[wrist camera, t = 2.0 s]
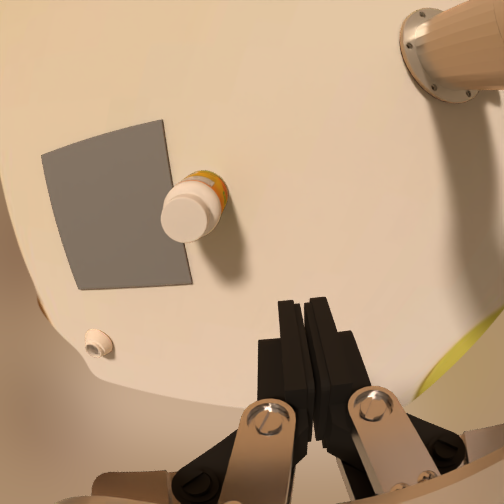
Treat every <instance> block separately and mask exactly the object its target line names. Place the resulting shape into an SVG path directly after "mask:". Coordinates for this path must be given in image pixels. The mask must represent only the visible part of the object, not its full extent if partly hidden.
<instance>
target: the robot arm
mask: <svg viewBox="0 0 504 504" xmlns="http://www.w3.org/2000/svg"><path fill="white" fill-rule="evenodd" d="M400 47H401V52H402V55H403V59H404V61H405V63H406V65H407V68H408V69H409V71H410V72H411V74H412V76H413V77H414V78H415V80H416V81H417V82H418V83H419V85H420V86H421V87H422V88H423V89H424V90H426V91H427V92H428V93H429V94H431V95H432V96H434V97H435V98H437V99H439V100H441V101H445V102H449V103H464V102H466V101H469V100H471V99H472V98H473V97H475V95H476V94H477V93H478V92H479V90H504V0H469V1H466V2H464V3H462V4H459V5H457V6H455V7H453V8H450V9H448V10H446V11H441V10H439V9H434V8H422V9H419V10H416V11H414V12H413V13H411V14H410V15H409V16H408V17H406V19H405V20H404V22H403V24H402V27H401V30H400ZM407 47H408V48H407ZM278 311H279V324H280V338H276V339H263V340H258V391H257V401H256V402H254V403H252V404H251V405H249V406H248V407H247V408H246V409H245V410H244V412H243V414H242V416H241V419H240V423H239V427H238V429H237V430H236V431H234V432H233V433H232V434H230V435H229V436H228V437H226V438H225V439H224V440H222V441H221V442H219V443H218V444H217V445H215V446H214V447H213V448H211V449H209V450H208V451H207V452H205V453H204V454H202V455H201V456H199V457H198V458H196V459H195V460H193V461H192V462H190V463H189V464H187V465H186V466H184V467H183V468H181V469H180V470H179V471H178V472H167V471H166V470H162V471H143V472H108V473H103V474H101V475H99V476H98V477H97V478H96V479H95V481H94V482H93V485H92V494H91V496H80V497H72V498H67V499H63V500H61V501H58V502H56V503H55V504H291V500H292V492H293V484H294V477H295V469H296V464H297V463H298V462H299V461H300V460H302V458H304V457H305V455H307V444H308V442H311V438H312V426H313V423H314V430H315V438H316V441H319V440H322V445H323V448H327V452H329V453H330V454H332V455H334V456H335V457H336V460H337V464H338V467H339V469H340V472H341V475H342V478H343V481H344V483H345V486H346V489H347V492H348V494H349V497H350V500H351V501H350V502H344V503H338V504H504V424H500V425H495V426H491V427H486V428H481V429H476V430H470V431H464V432H463V434H462V435H457V434H455V433H454V432H451V431H449V430H446V429H443V428H441V427H438V426H436V425H434V424H431V423H429V422H426V421H424V420H422V419H419V418H417V417H415V416H412V415H410V414H408V413H406V412H405V411H404V409H403V407H402V406H401V404H400V402H399V401H398V399H397V397H396V396H395V395H394V394H393V393H392V392H391V391H389V390H388V389H386V388H383V387H380V386H371V383H370V380H369V377H368V374H367V371H366V369H365V366H364V363H363V360H362V357H361V355H360V352H359V349H358V347H357V344H356V341H355V338H354V336H353V333H352V332H351V331H350V330H349V331H342V332H337V329H336V326H335V323H334V320H333V317H332V314H331V311H330V308H329V305H328V302H327V299H326V297H317V298H310V302H309V303H304V323H303V318H302V313H301V307H300V303H299V304H294V301H293V300H286V301H278Z"/></svg>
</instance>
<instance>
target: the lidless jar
mask: <svg viewBox="0 0 504 504" xmlns="http://www.w3.org/2000/svg"><path fill="white" fill-rule="evenodd" d="M112 347H113V345H112V342H111V340H110V339H109V337H108V336H107V335H106V334H104V333H103V332H101V331H99V330H96V329H90V330H88V331H87V332H86V335H85V349H86V351H87V353H88V354H89V355H91V356H92V357H95V358H99V357H101V356H104V355H106V354H108V353H109V352H111V350H112Z"/></svg>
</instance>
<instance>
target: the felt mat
mask: <svg viewBox="0 0 504 504" xmlns="http://www.w3.org/2000/svg"><path fill="white" fill-rule="evenodd" d="M41 158H42V164H43V169H44V174H45V179H46V184H47V188H48V193H49V197H50V201H51V205H52V209H53V213H54V216H55V220H56V224H57V227H58V231H59V234H60V237H61V241H62V244H63V247H64V250H65V253H66V256H67V259H68V262H69V265H70V268H71V271H72V273H73V276H74V279H75V281H76V284H77V287H78V289H101V288H122V287H141V286H159V285H175V284H191V283H192V278H191V274H190V269H189V265H188V260H187V256H186V251H185V246H184V243H181V242H177V241H175V240H173V239H171V238H170V237H169V236H168V235H167V234H166V233H165V231H164V230H163V227H162V224H161V213H162V210H163V204H164V200H165V198H166V196H167V194H168V193H169V191H170V190H171V189H172V188H173V184H172V178H171V172H170V166H169V160H168V153H167V147H166V140H165V133H164V126H163V120H157V121H153V122H148V123H144V124H140V125H136V126H132V127H128V128H124V129H120V130H117V131H113V132H109V133H106V134H102V135H99V136H96V137H92V138H89V139H86V140H83V141H80V142H77V143H74V144H71V145H68V146H65V147H62V148H59V149H56V150H54V151H51V152H48V153H46V154H43V155H41Z"/></svg>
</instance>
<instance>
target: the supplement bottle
mask: <svg viewBox="0 0 504 504" xmlns="http://www.w3.org/2000/svg"><path fill="white" fill-rule="evenodd" d="M227 200H228V189H227V186H226V183H225V182H224V180H223V179H222V178H221V177H220V176H219V175H217V174H216V173H214V172H211V171H207V170H201V171H196V172H194V173H192V174H190V175H188V176H187V177H186V178H184V179H183V180H182V181H181V182H179V183H178V184H177V185H175V186H174V187H173V188H172V189H171V190H170V191H169V193H168V194H167V196H166V198H165V200H164V204H163V210H162V213H161V224H162V227H163V230H164V231H165V233H166V234H167V235H168V236H169V237H170V238H171V239H173V240H175V241H177V242H181V243H190V242H194V241H196V240H198V239H199V238H200V237H203V236H205V235H207V234H209V233H210V232H211V231H212V230H213V229H214V228H215V227H216V225H217V224H218V222H219V220H220V217H221V215H222V212H223V210H224V208H225V205H226V203H227Z"/></svg>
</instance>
